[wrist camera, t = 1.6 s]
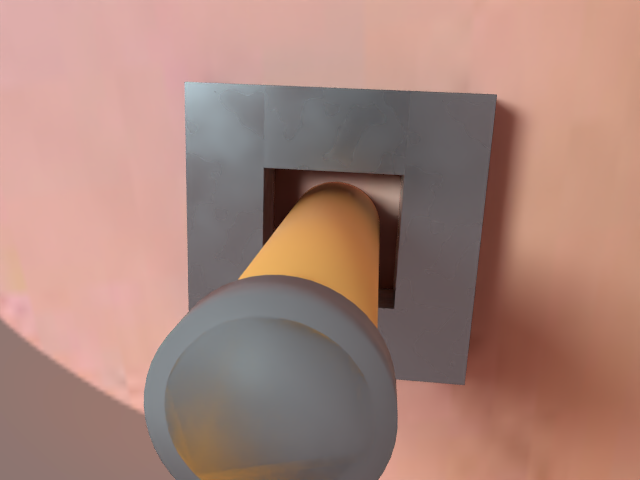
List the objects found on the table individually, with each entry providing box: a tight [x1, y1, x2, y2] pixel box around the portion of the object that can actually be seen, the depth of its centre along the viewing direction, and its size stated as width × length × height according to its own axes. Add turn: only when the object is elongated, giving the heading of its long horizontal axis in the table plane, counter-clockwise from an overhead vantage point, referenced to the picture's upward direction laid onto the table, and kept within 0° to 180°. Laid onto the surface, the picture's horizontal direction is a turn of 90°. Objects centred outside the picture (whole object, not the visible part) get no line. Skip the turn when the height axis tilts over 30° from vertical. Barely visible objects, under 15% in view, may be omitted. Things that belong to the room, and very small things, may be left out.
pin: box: [144, 182, 397, 480], centre depth 19 cm, size 5×5×16 cm
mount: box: [185, 82, 497, 385], centre depth 25 cm, size 12×12×2 cm
